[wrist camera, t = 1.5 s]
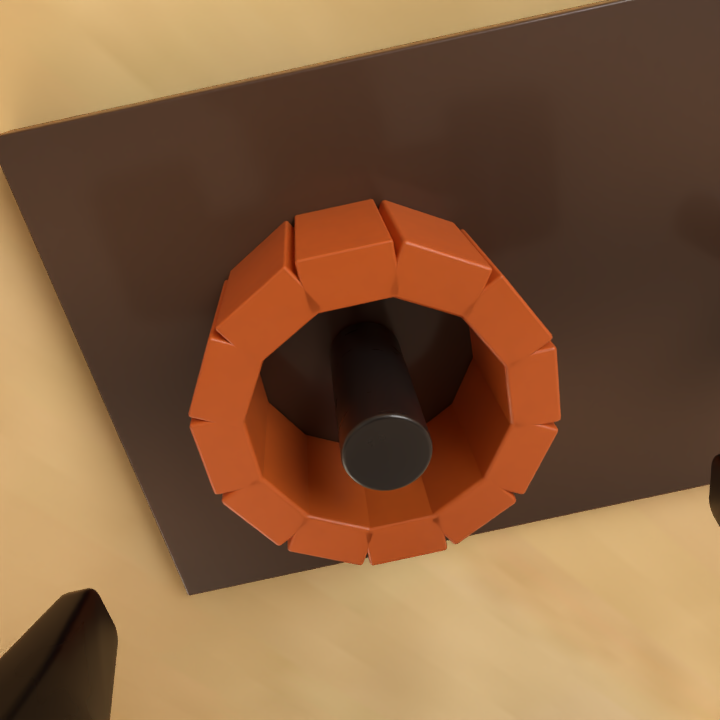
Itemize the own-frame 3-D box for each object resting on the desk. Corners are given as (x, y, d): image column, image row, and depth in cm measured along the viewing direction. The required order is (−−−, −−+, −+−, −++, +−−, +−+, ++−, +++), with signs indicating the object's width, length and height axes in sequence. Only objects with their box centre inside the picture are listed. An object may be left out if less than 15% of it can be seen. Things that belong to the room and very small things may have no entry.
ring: (523, 444, 16) (568, 525, 14) (257, 501, 16) (249, 593, 14) (498, 170, 13) (549, 205, 11) (169, 242, 13) (138, 294, 11)
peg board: (961, 405, 18) (1175, 525, 14) (193, 569, 18) (161, 740, 14) (1098, -108, 13) (1525, -182, 8) (7, 130, 13) (-141, 181, 9)
